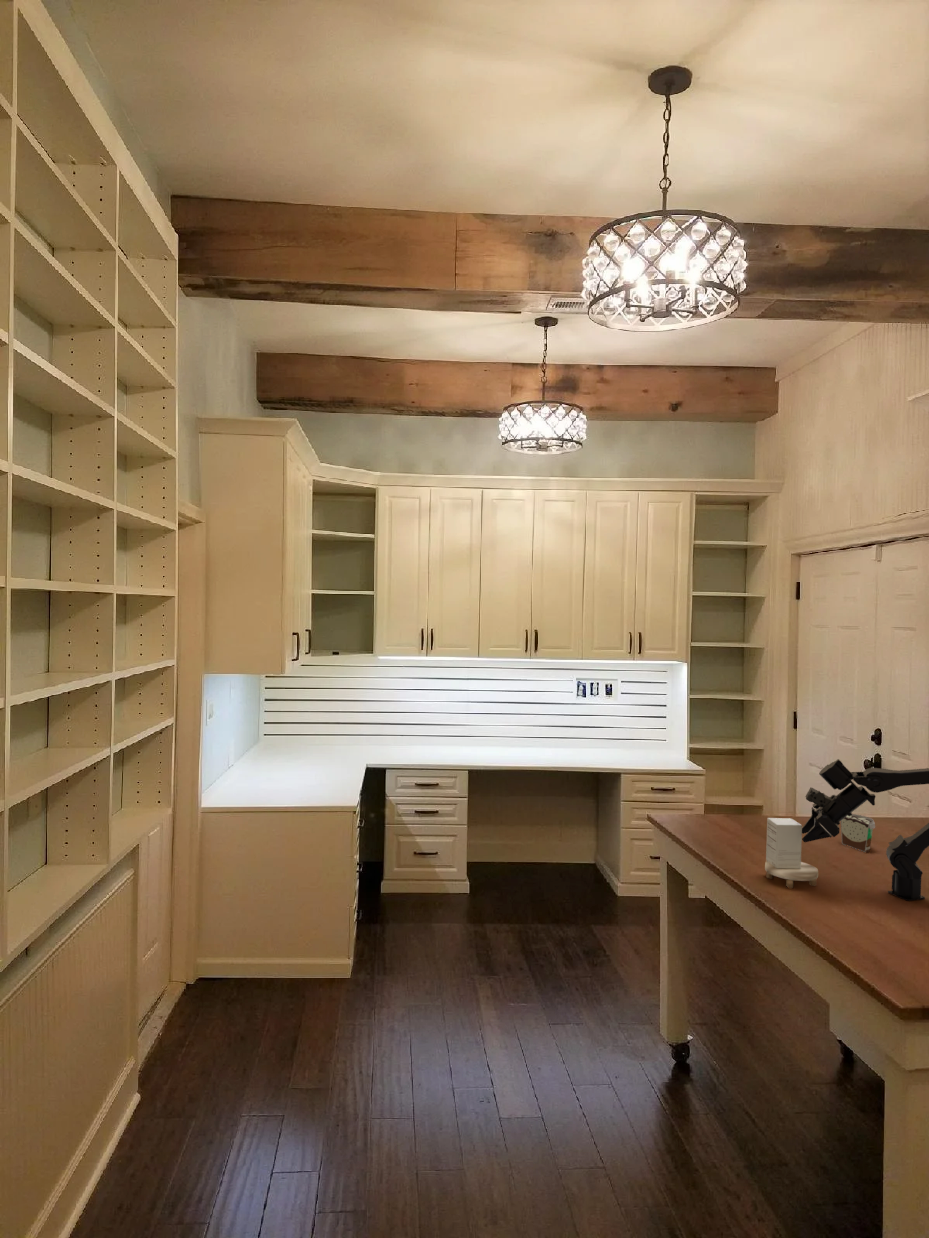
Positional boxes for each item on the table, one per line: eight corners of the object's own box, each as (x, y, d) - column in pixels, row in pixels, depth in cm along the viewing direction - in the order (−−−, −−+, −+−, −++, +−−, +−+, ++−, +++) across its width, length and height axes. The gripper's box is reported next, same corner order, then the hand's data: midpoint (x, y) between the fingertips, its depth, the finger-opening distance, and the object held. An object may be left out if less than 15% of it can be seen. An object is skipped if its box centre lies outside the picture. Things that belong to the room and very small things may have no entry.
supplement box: (790, 860, 230) (791, 817, 230) (801, 869, 222) (803, 824, 222) (765, 860, 230) (766, 817, 229) (775, 868, 222) (777, 824, 222)
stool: (829, 887, 220) (829, 873, 220) (788, 891, 215) (789, 877, 215) (792, 870, 233) (793, 857, 233) (754, 874, 228) (754, 861, 228)
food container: (883, 852, 255) (884, 821, 255) (869, 853, 253) (870, 822, 252) (851, 841, 266) (852, 811, 266) (838, 842, 264) (839, 813, 264)
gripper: (821, 773, 230) (780, 806, 234) (827, 786, 213) (782, 822, 217) (850, 803, 228) (808, 836, 232) (858, 818, 210) (812, 854, 214)
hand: (802, 836), depth 224 cm, fingers open, 9 cm apart
